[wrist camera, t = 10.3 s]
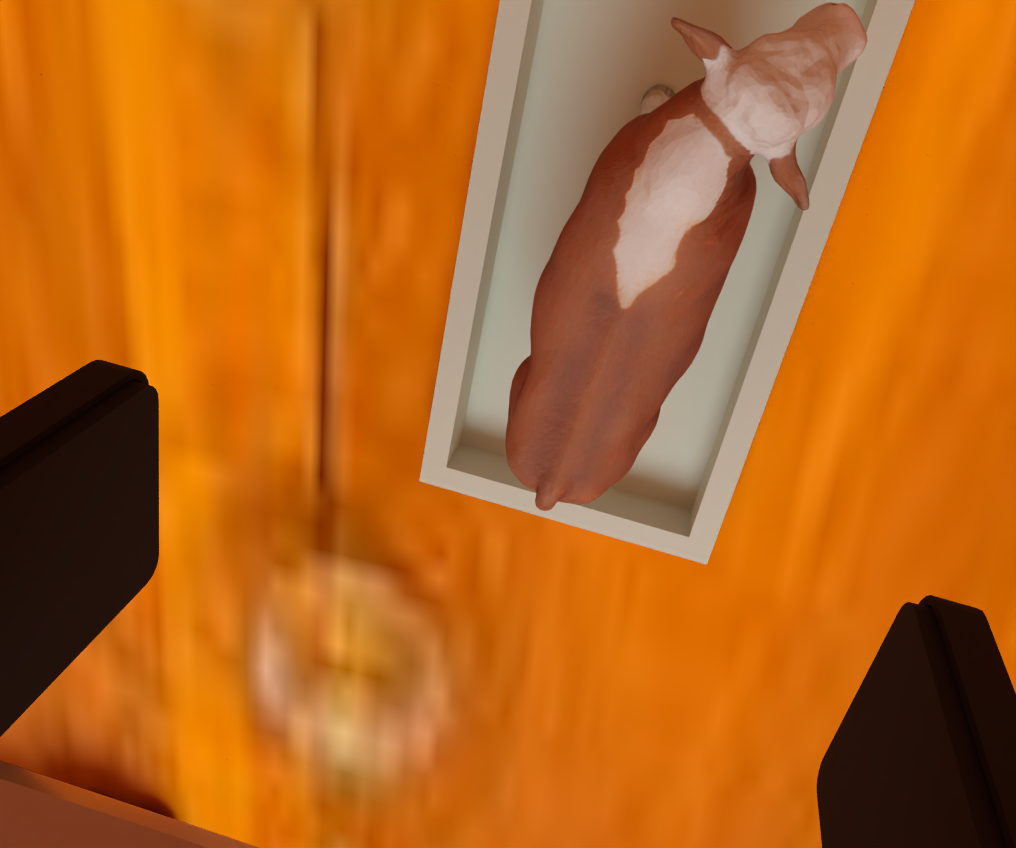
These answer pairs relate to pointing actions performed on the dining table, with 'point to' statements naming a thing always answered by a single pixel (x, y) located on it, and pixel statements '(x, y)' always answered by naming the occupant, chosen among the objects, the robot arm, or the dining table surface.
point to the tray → (551, 201)
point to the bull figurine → (661, 249)
